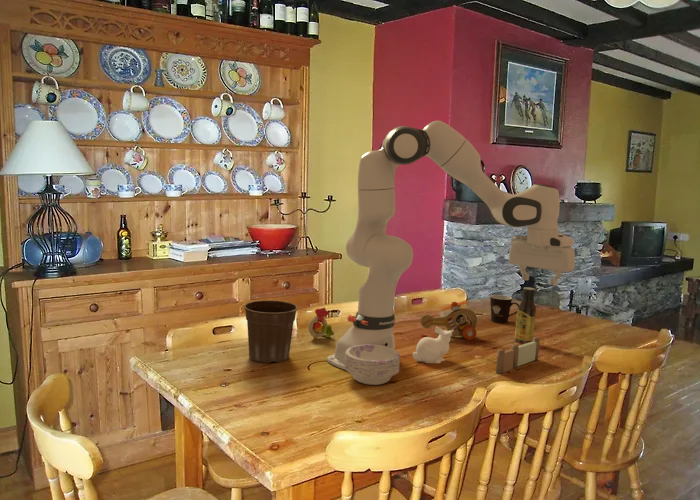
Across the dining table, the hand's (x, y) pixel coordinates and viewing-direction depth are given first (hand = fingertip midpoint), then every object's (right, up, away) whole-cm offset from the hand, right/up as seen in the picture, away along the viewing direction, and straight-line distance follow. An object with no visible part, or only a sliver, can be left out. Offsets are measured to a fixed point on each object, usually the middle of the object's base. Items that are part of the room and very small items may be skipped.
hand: (539, 282), depth 174 cm
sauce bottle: (+3, -23, +26) cm, 35 cm away
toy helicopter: (-22, -22, +30) cm, 43 cm away
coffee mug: (+3, -19, +54) cm, 58 cm away
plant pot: (-83, -23, 0) cm, 86 cm away
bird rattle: (-68, -21, +22) cm, 75 cm away
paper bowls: (-52, -26, -16) cm, 61 cm away
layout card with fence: (-10, -26, +3) cm, 28 cm away
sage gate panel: (-3, -25, +3) cm, 25 cm away
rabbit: (-32, -25, +2) cm, 41 cm away
